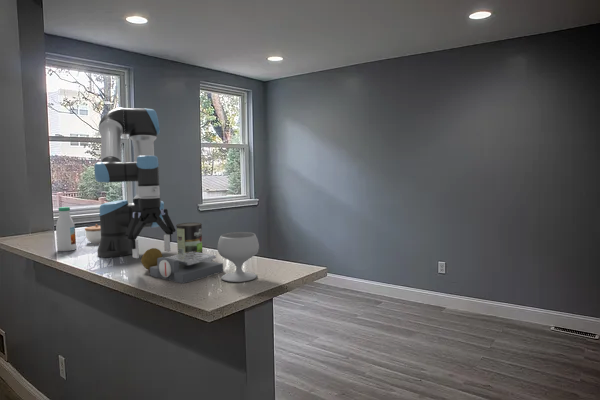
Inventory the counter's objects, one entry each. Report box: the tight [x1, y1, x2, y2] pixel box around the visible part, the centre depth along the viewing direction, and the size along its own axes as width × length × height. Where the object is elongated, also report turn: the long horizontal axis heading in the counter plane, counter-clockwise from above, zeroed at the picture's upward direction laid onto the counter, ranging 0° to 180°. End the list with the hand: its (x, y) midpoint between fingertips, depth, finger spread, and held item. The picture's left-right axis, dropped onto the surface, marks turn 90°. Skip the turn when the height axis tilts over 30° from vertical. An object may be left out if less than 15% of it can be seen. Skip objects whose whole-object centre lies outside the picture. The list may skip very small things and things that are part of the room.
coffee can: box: [175, 222, 204, 255], centre depth 180 cm, size 10×10×14 cm
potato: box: [140, 247, 163, 271], centre depth 161 cm, size 7×8×8 cm
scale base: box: [149, 257, 224, 284], centre depth 154 cm, size 18×19×7 cm
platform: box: [164, 251, 217, 265], centre depth 155 cm, size 13×13×1 cm
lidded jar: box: [84, 223, 101, 244], centre depth 218 cm, size 11×11×9 cm
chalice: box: [217, 231, 260, 283], centre depth 147 cm, size 14×14×15 cm
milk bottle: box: [55, 206, 77, 252], centre depth 199 cm, size 8×8×20 cm
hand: (152, 254), depth 161 cm, fingers open, 13 cm apart
